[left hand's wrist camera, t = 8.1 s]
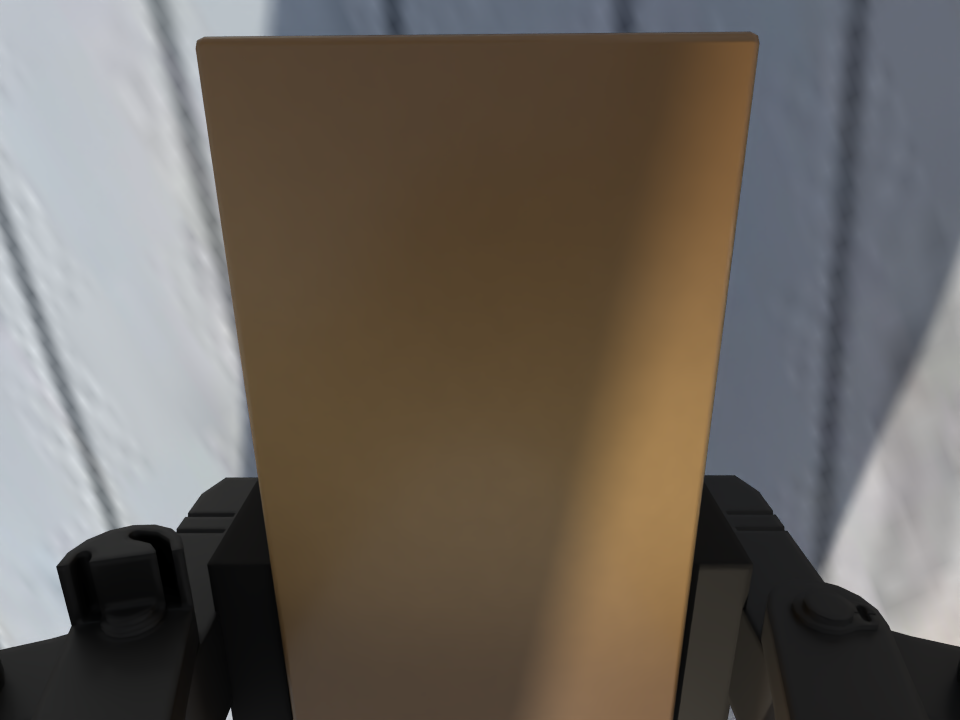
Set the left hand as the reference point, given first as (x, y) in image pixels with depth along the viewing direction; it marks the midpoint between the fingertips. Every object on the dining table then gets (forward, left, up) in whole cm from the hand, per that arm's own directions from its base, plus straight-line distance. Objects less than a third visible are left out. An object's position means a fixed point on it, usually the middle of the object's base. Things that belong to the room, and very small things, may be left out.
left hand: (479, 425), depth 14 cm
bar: (-3, +27, -1) cm, 27 cm away
